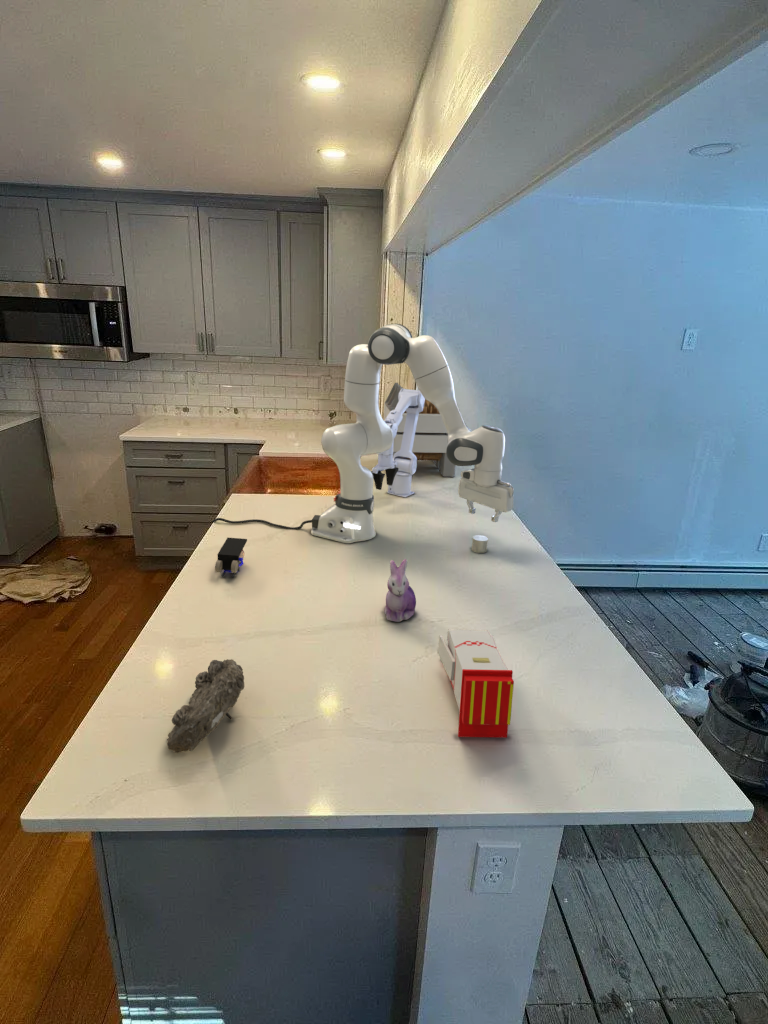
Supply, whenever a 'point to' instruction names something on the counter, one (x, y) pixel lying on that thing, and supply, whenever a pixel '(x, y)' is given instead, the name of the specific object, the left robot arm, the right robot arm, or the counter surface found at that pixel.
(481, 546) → the canister
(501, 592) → the counter surface
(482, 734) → the toy
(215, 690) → the fossil
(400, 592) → the figurine
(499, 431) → the left robot arm
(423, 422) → the transformer
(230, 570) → the figurine character
